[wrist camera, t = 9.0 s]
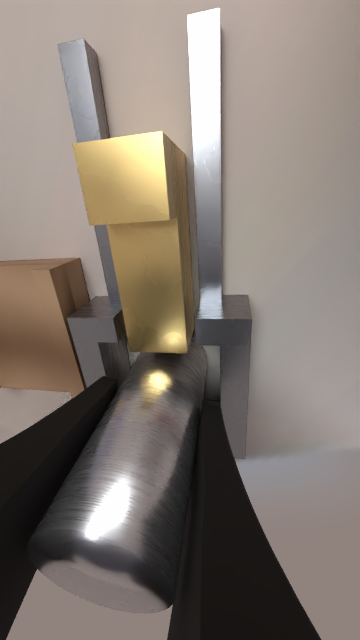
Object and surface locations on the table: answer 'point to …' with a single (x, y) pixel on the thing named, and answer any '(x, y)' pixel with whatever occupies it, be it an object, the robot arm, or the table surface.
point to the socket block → (214, 308)
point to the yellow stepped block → (144, 233)
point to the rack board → (40, 324)
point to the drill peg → (129, 491)
